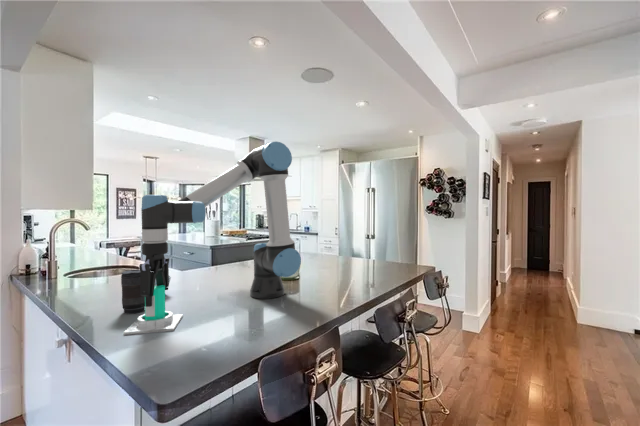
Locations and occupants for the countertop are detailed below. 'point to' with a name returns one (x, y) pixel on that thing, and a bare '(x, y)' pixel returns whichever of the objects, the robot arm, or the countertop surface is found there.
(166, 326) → the duct flange
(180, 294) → the countertop surface
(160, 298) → the candle
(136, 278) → the camera lens
